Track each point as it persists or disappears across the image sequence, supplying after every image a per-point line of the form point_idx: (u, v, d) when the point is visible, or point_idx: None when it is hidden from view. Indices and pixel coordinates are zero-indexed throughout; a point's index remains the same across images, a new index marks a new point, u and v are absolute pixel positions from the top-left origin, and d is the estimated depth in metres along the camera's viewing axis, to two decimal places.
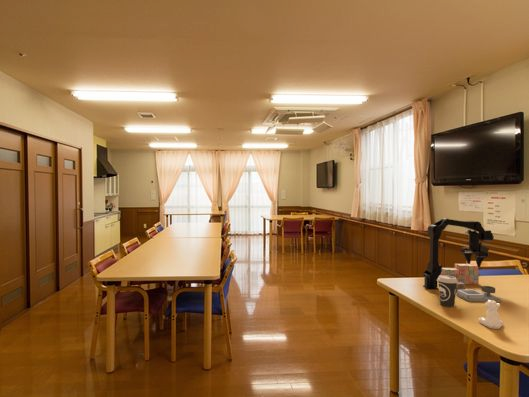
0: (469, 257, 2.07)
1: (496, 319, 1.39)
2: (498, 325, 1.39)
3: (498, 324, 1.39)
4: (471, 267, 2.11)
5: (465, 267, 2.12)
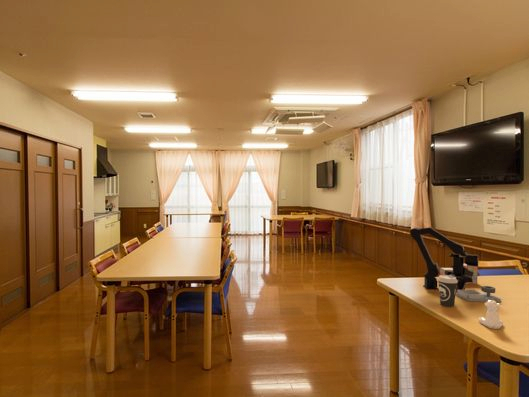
0: None
1: (496, 319, 1.39)
2: (498, 325, 1.39)
3: (498, 324, 1.39)
4: (470, 267, 2.12)
5: None
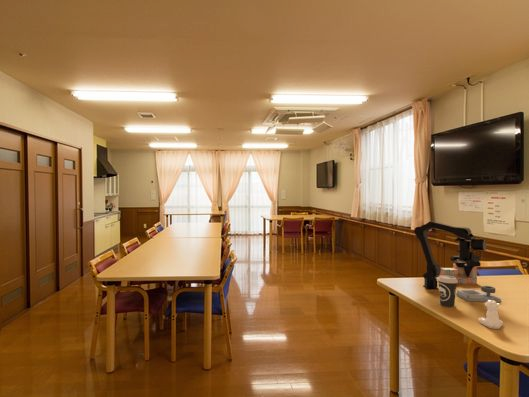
0: None
1: (496, 319, 1.39)
2: (498, 325, 1.39)
3: (498, 324, 1.39)
4: None
5: None
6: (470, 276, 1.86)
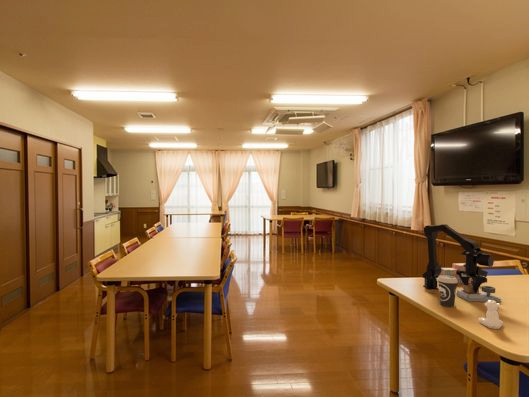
0: (466, 281, 1.86)
1: (496, 319, 1.39)
2: (498, 325, 1.39)
3: (498, 324, 1.39)
4: None
5: (463, 267, 2.13)
6: None
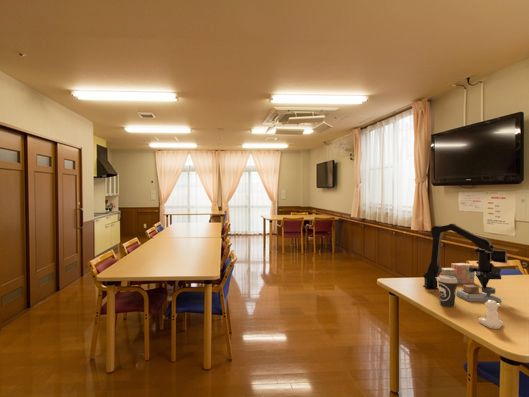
0: None
1: (496, 319, 1.39)
2: (498, 325, 1.39)
3: (498, 324, 1.39)
4: (468, 266, 2.13)
5: (463, 266, 2.13)
6: None
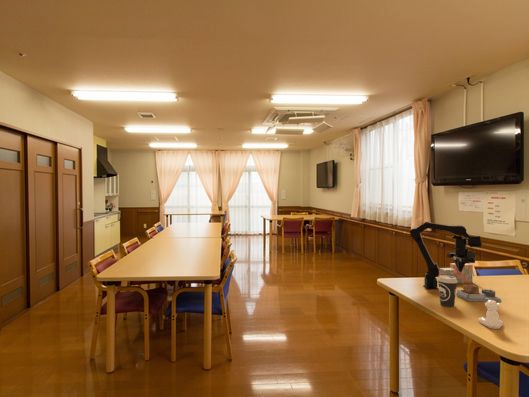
0: None
1: (496, 319, 1.39)
2: (498, 325, 1.39)
3: (498, 324, 1.39)
4: (466, 266, 2.14)
5: None
6: None
